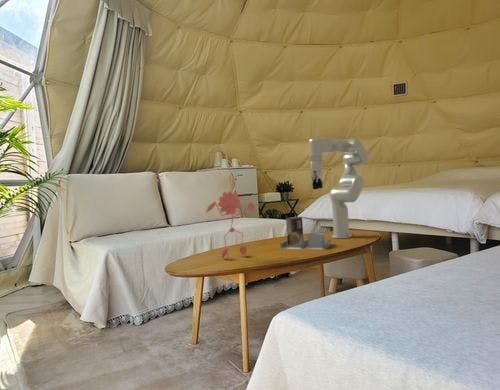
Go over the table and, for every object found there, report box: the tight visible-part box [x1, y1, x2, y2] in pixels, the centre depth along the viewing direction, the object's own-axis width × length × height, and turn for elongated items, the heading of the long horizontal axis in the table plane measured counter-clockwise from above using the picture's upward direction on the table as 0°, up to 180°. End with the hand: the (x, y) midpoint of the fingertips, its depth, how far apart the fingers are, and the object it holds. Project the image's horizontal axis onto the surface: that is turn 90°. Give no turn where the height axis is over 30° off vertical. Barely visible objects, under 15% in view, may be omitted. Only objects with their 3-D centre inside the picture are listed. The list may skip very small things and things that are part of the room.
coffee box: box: [285, 216, 305, 247], centre depth 223 cm, size 9×6×16 cm
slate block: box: [307, 232, 326, 248], centre depth 218 cm, size 5×8×7 cm, turn 66°
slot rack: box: [279, 238, 332, 251], centre depth 221 cm, size 16×25×4 cm, turn 66°
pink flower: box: [205, 191, 255, 261], centre depth 210 cm, size 15×26×35 cm, turn 113°
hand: (317, 188), depth 233 cm, fingers open, 9 cm apart
